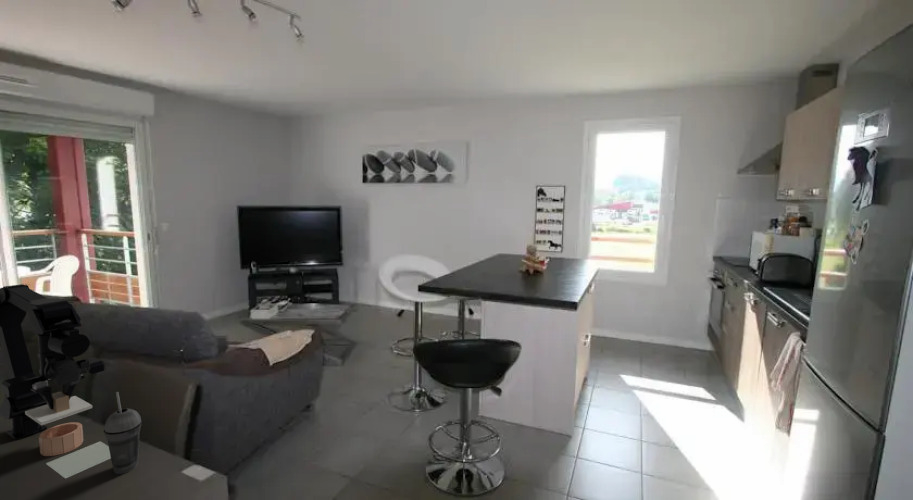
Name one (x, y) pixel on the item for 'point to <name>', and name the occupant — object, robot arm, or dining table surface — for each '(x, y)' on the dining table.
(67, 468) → the mat
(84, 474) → the dining table surface
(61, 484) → the dining table surface
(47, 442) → the segmented pink ring
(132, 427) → the beverage cup
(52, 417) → the cover sheet
